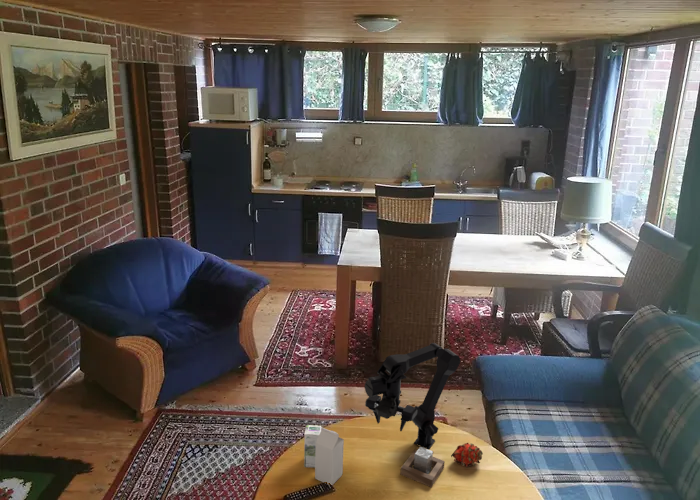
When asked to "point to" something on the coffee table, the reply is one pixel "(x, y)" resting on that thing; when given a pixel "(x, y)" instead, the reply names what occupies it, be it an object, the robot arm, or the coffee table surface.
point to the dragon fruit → (467, 454)
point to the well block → (420, 476)
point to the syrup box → (310, 445)
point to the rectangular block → (423, 460)
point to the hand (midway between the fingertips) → (389, 426)
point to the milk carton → (329, 456)
